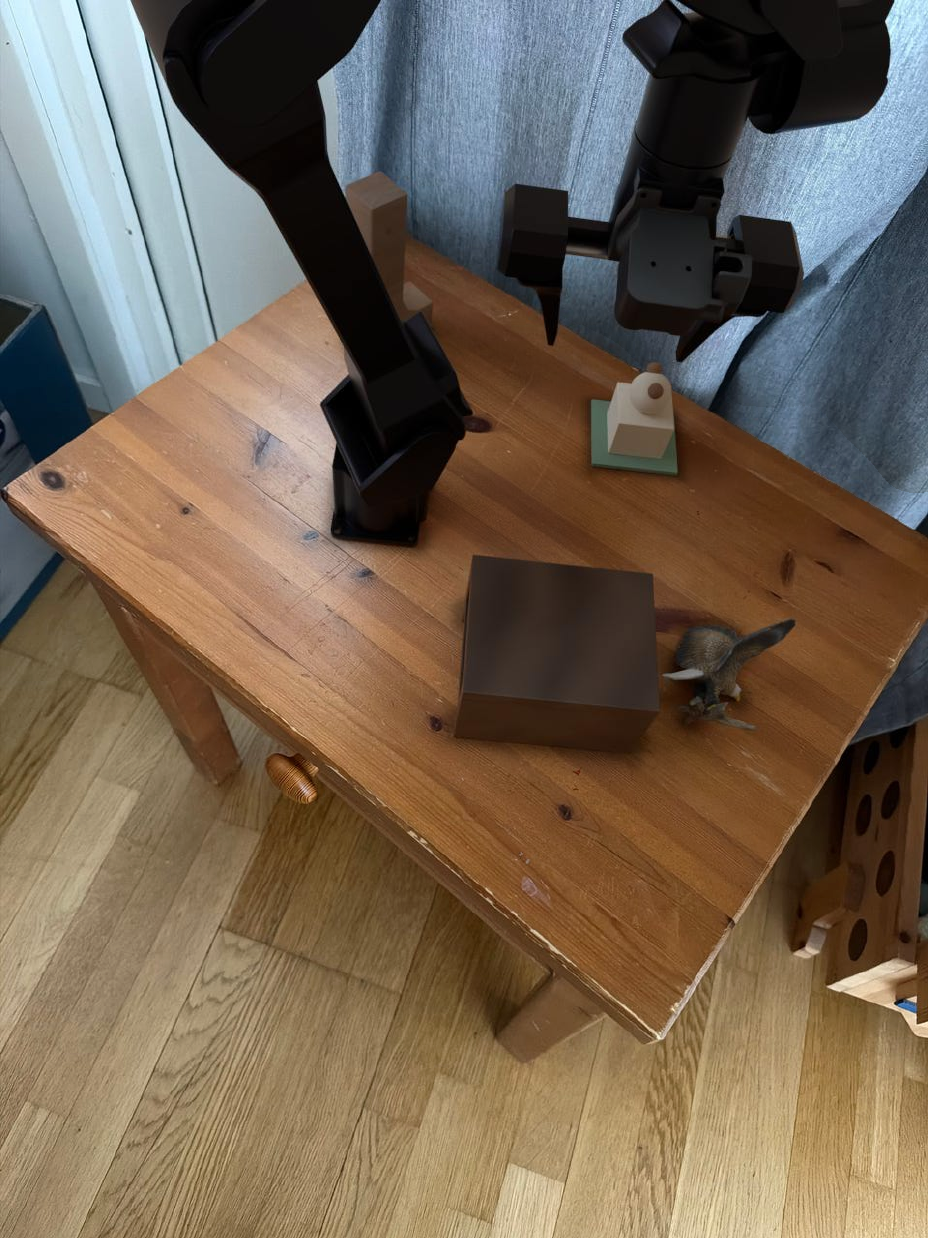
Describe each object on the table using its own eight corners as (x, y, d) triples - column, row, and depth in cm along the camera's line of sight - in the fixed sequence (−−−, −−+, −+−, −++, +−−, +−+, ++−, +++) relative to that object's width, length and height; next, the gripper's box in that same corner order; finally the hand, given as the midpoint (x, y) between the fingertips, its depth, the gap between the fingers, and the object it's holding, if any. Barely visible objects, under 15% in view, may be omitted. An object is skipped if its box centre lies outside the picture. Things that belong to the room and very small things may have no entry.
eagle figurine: (769, 757, 60) (811, 642, 63) (741, 709, 55) (788, 586, 57) (665, 730, 64) (708, 624, 67) (631, 684, 59) (679, 572, 62)
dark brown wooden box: (453, 737, 60) (462, 692, 54) (462, 608, 65) (472, 554, 59) (630, 754, 60) (660, 711, 54) (626, 625, 65) (653, 573, 59)
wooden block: (371, 367, 75) (372, 209, 62) (348, 344, 76) (343, 184, 64) (431, 336, 78) (444, 177, 65) (407, 314, 79) (415, 153, 66)
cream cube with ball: (607, 453, 73) (629, 392, 67) (607, 412, 75) (627, 350, 69) (661, 459, 73) (687, 399, 67) (658, 418, 75) (683, 357, 69)
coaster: (591, 466, 72) (592, 463, 72) (590, 402, 76) (591, 398, 75) (676, 475, 73) (677, 472, 72) (671, 411, 76) (673, 408, 76)
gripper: (514, 205, 45) (477, 418, 59) (870, 254, 46) (754, 452, 60) (521, 83, 51) (486, 303, 64) (838, 129, 52) (738, 336, 66)
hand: (614, 349), depth 63 cm, fingers open, 9 cm apart
